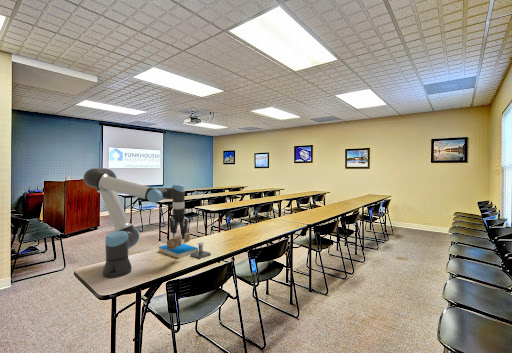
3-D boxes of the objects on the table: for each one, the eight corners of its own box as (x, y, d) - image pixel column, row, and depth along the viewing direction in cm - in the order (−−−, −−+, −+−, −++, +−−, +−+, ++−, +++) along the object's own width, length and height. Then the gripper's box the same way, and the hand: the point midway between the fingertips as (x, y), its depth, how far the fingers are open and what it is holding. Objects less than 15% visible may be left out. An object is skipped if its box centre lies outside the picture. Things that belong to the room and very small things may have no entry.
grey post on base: (200, 259, 172) (200, 245, 171) (190, 256, 177) (190, 243, 177) (210, 254, 180) (210, 242, 179) (201, 252, 185) (201, 240, 185)
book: (178, 253, 172) (158, 246, 187) (178, 259, 172) (158, 252, 188) (198, 247, 186) (177, 241, 201) (198, 253, 186) (177, 246, 201)
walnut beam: (172, 249, 154) (172, 241, 154) (166, 248, 155) (166, 240, 155) (189, 240, 173) (189, 233, 173) (184, 240, 174) (184, 233, 174)
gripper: (193, 207, 165) (193, 243, 166) (170, 206, 170) (171, 241, 170) (187, 209, 158) (187, 246, 158) (163, 208, 163) (164, 244, 163)
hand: (179, 243), depth 164 cm, fingers closed on walnut beam, 4 cm apart
